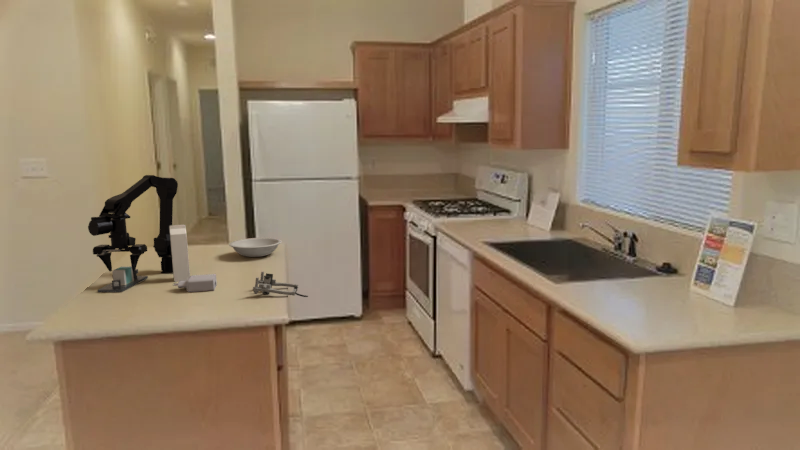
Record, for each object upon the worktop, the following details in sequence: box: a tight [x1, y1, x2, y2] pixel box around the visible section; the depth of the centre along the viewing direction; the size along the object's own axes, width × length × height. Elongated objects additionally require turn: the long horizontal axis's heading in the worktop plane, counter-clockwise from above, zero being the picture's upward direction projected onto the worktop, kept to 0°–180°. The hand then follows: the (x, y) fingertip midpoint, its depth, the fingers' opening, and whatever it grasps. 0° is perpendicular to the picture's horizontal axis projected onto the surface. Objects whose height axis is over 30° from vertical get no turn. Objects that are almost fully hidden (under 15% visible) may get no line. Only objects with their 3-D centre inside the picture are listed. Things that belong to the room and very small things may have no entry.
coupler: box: [111, 265, 134, 284], centre depth 222 cm, size 7×4×5 cm, turn 178°
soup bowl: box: [228, 237, 283, 258], centre depth 270 cm, size 24×24×7 cm
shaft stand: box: [97, 268, 149, 293], centre depth 223 cm, size 9×20×4 cm, turn 178°
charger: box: [172, 273, 218, 293], centre depth 215 cm, size 5×9×15 cm
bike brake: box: [252, 270, 309, 298], centre depth 208 cm, size 14×7×20 cm
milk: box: [170, 224, 191, 283], centre depth 228 cm, size 6×6×22 cm
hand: (122, 271), depth 222 cm, fingers open, 9 cm apart
